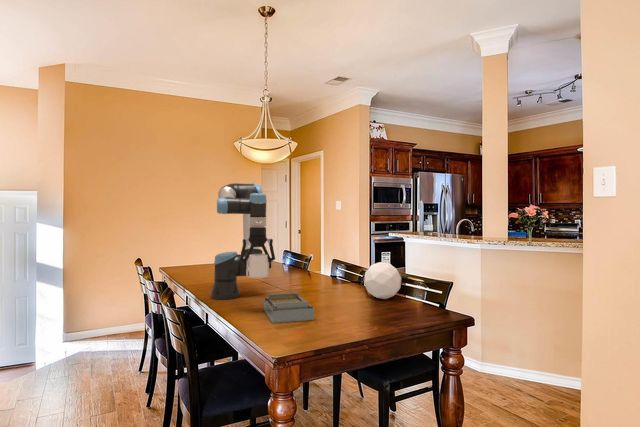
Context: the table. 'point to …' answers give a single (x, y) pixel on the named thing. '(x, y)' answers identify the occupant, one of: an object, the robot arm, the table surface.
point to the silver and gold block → (288, 308)
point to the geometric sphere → (382, 280)
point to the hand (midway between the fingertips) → (257, 275)
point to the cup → (257, 265)
